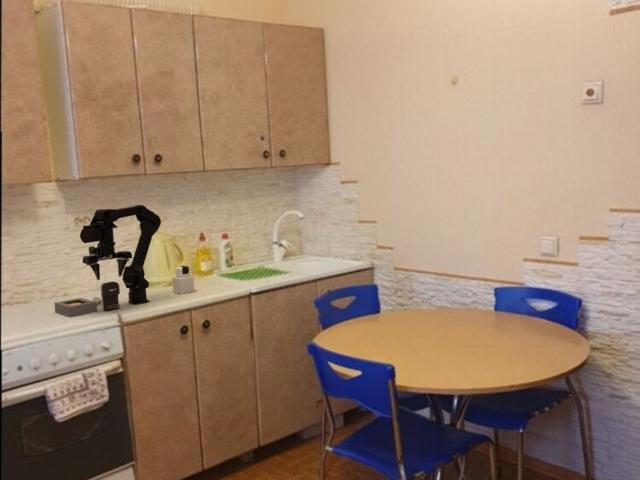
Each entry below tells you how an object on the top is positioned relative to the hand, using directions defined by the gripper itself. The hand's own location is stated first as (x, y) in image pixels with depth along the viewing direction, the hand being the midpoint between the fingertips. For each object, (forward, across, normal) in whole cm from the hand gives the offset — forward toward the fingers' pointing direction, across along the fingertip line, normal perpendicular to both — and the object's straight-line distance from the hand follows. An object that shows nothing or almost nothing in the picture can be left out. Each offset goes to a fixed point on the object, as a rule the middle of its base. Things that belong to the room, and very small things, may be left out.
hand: (109, 278), depth 247 cm
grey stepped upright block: (+13, -38, -5) cm, 41 cm away
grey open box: (+13, +11, -9) cm, 19 cm away
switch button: (+12, +11, -9) cm, 18 cm away
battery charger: (+13, 0, 0) cm, 13 cm away
